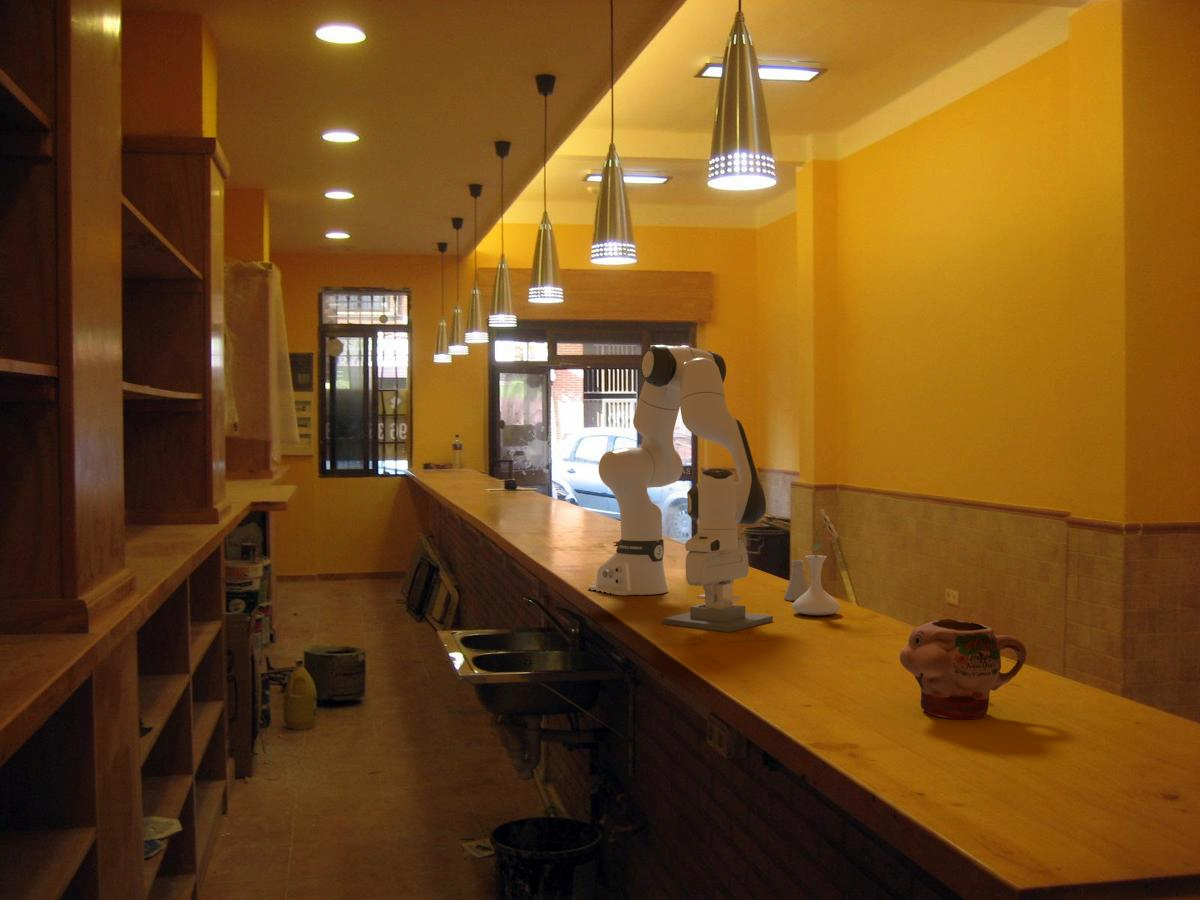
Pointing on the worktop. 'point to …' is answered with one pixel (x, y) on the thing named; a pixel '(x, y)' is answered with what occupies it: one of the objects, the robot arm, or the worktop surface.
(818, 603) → the flower in vase
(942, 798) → the worktop surface
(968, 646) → the sculpted ceramic mug
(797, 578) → the flask
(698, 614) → the plate
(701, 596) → the block
